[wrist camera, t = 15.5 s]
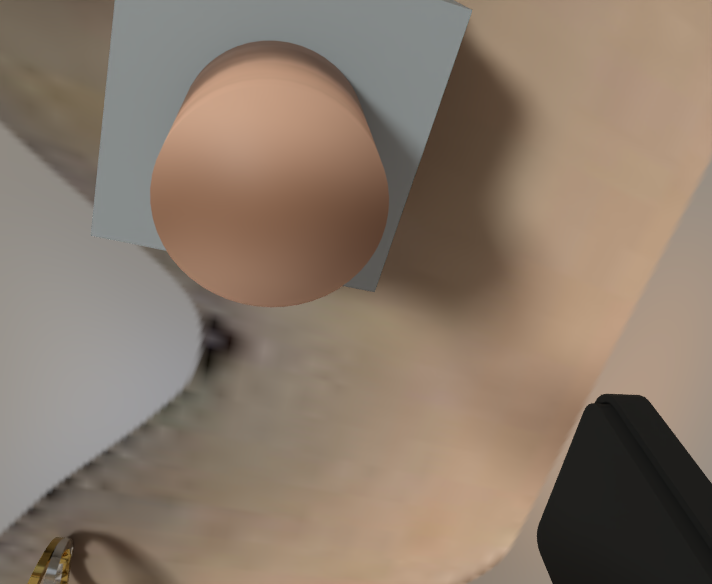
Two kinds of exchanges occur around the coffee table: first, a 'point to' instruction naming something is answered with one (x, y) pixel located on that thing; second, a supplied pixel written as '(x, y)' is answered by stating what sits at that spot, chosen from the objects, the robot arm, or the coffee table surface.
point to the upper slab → (269, 23)
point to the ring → (54, 563)
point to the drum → (270, 178)
